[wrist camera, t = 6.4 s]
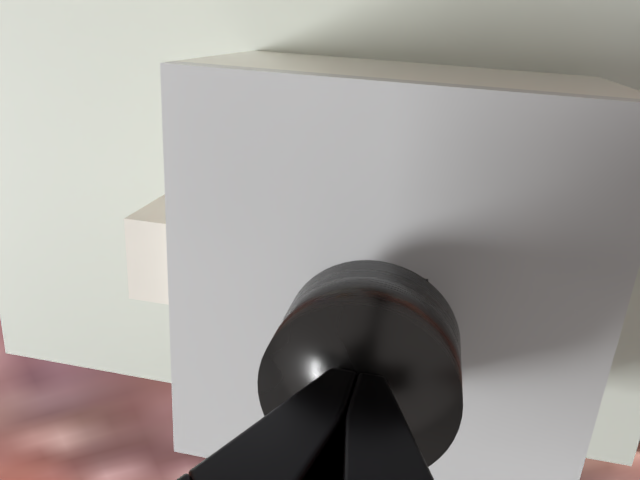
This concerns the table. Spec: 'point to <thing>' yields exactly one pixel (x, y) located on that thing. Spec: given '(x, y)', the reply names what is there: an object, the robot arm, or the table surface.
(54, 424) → the table surface
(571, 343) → the white square block
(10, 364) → the table surface
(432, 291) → the plunger
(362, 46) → the board
